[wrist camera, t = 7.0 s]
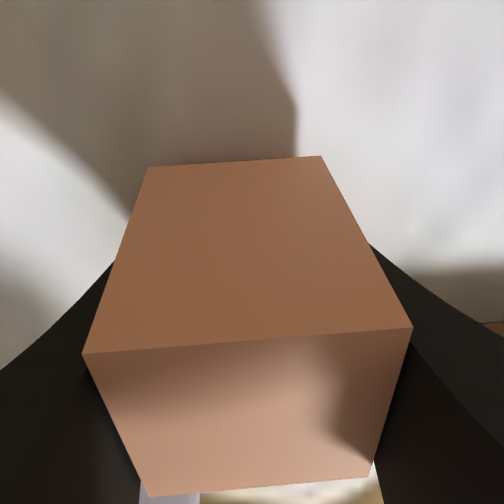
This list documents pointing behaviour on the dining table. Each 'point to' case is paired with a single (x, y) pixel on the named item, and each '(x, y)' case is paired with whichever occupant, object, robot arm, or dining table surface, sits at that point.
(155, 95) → the dining table surface
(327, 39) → the dining table surface
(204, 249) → the block
